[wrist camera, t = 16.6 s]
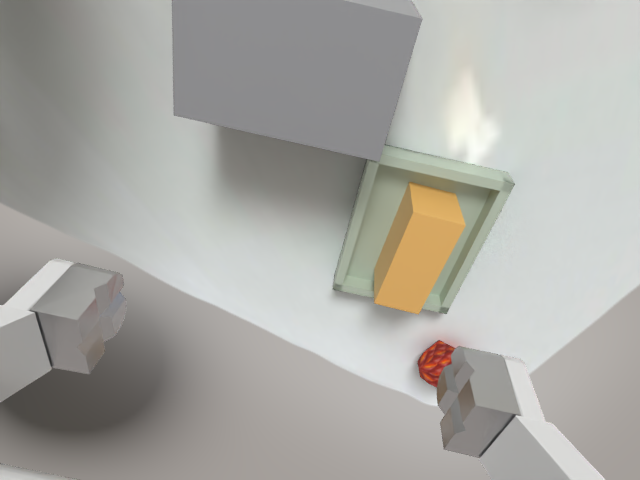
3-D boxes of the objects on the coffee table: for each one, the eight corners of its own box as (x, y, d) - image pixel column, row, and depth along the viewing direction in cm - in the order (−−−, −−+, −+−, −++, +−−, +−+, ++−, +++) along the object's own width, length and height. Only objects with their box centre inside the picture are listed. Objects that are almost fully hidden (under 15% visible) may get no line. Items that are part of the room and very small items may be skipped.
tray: (334, 275, 52) (332, 289, 50) (371, 141, 42) (371, 151, 40) (443, 299, 53) (446, 314, 51) (508, 172, 42) (514, 184, 40)
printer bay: (214, 80, 40) (173, 115, 32) (220, -45, 34) (171, -41, 26) (378, 117, 40) (379, 161, 32) (411, 0, 35) (422, 18, 26)
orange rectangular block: (372, 273, 51) (371, 308, 46) (409, 181, 43) (413, 211, 38) (412, 283, 51) (416, 319, 46) (455, 193, 43) (465, 225, 39)
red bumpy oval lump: (444, 353, 62) (398, 357, 59) (471, 330, 57) (423, 333, 54) (463, 396, 58) (415, 403, 55) (493, 375, 53) (443, 381, 50)
